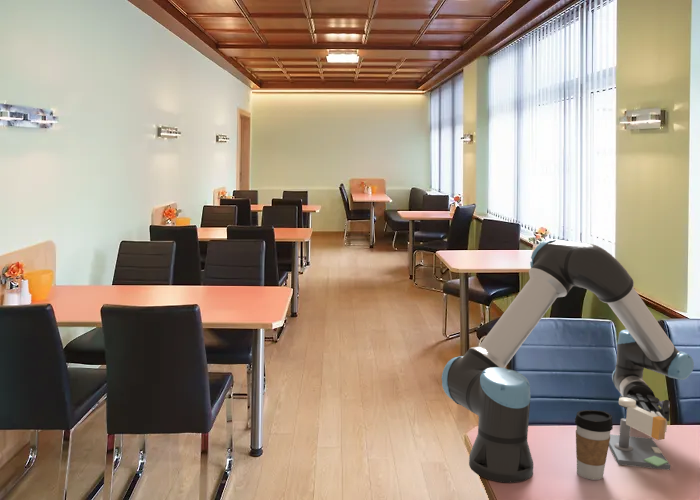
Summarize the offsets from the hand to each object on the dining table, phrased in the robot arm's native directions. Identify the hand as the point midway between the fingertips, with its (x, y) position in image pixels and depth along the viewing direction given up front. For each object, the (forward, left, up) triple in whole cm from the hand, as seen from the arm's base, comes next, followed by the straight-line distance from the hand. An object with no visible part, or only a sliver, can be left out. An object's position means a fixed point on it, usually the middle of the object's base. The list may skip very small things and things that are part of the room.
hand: (662, 426), depth 151 cm
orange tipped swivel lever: (-4, +3, -9) cm, 10 cm away
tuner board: (-4, +7, -10) cm, 13 cm away
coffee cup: (-18, -8, -11) cm, 22 cm away
